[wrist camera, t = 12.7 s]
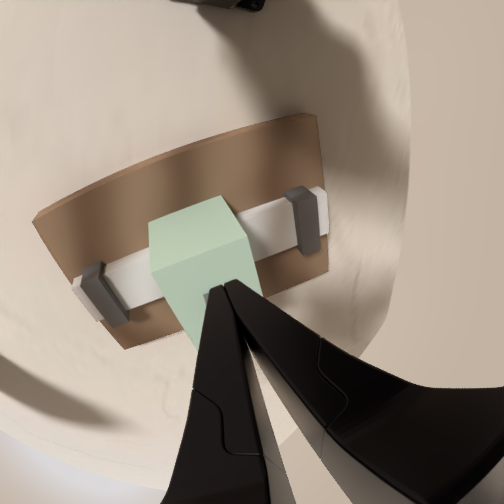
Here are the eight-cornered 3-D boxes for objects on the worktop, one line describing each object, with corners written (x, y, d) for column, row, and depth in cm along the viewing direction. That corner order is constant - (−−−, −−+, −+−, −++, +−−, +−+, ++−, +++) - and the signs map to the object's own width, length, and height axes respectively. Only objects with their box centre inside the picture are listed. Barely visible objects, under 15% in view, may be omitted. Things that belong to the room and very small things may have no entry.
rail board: (305, 112, 18) (332, 120, 15) (320, 261, 26) (339, 284, 24) (38, 212, 15) (21, 236, 12) (124, 337, 24) (125, 367, 21)
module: (220, 195, 18) (252, 244, 13) (244, 274, 22) (274, 332, 17) (148, 222, 17) (151, 283, 12) (184, 297, 21) (200, 360, 16)
